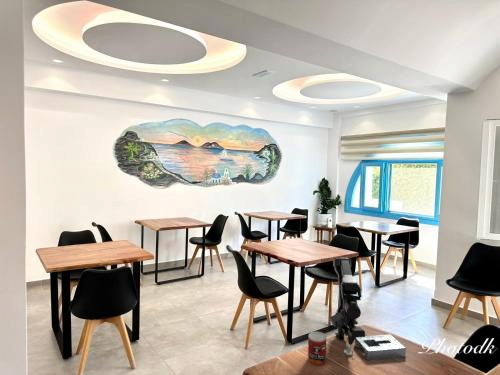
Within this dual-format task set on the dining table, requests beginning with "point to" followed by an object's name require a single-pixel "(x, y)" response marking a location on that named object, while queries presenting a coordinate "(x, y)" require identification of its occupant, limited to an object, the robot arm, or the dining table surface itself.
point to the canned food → (317, 348)
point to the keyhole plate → (380, 347)
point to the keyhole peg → (347, 346)
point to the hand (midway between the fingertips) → (348, 342)
